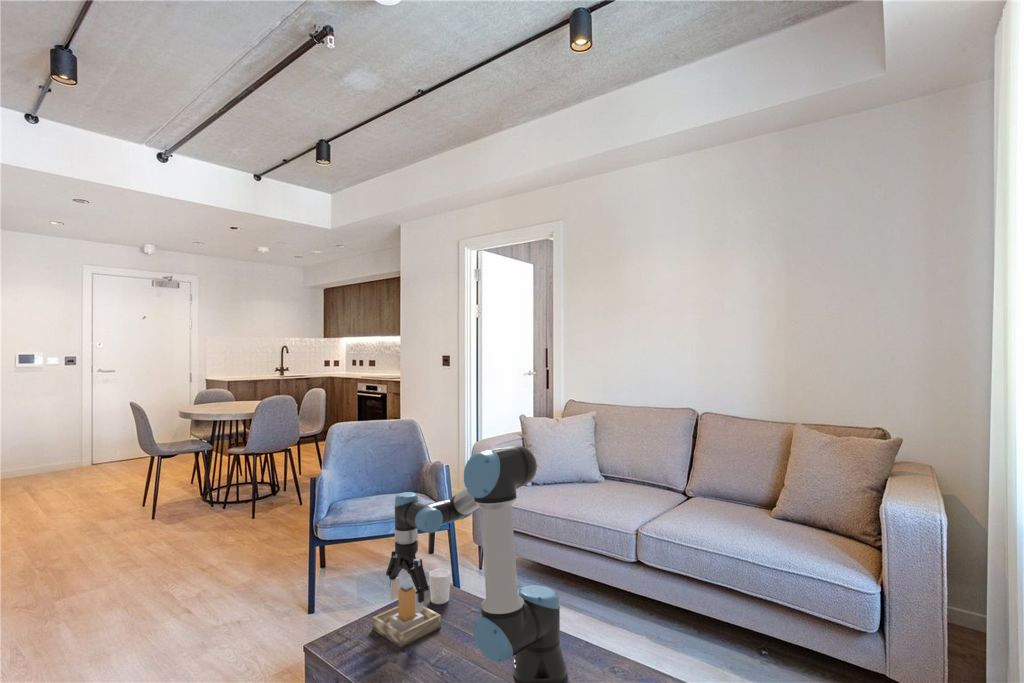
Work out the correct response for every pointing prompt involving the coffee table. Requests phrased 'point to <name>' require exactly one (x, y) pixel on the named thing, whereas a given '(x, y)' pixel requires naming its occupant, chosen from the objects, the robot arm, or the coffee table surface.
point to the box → (403, 638)
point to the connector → (406, 602)
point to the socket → (406, 625)
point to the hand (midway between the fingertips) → (406, 604)
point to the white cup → (439, 585)
